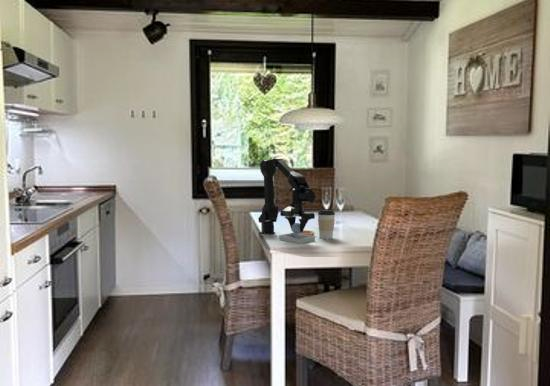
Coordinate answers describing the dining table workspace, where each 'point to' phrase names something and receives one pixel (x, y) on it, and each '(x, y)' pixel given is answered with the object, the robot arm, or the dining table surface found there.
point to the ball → (296, 228)
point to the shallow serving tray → (302, 238)
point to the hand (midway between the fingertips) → (297, 231)
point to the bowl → (307, 232)
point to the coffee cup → (326, 223)
